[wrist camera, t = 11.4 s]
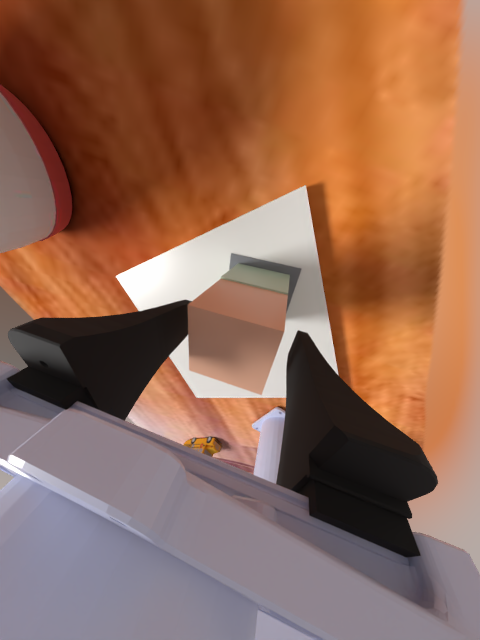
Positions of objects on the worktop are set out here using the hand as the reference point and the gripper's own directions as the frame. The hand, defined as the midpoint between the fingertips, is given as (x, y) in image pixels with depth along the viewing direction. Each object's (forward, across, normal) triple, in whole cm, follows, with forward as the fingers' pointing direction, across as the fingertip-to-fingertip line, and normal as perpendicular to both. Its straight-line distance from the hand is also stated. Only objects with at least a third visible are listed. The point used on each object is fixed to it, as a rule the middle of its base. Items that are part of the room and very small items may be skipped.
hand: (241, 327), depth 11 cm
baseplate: (+7, +2, +6) cm, 10 cm away
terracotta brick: (+2, 0, 0) cm, 2 cm away
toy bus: (+8, +5, +39) cm, 40 cm away
